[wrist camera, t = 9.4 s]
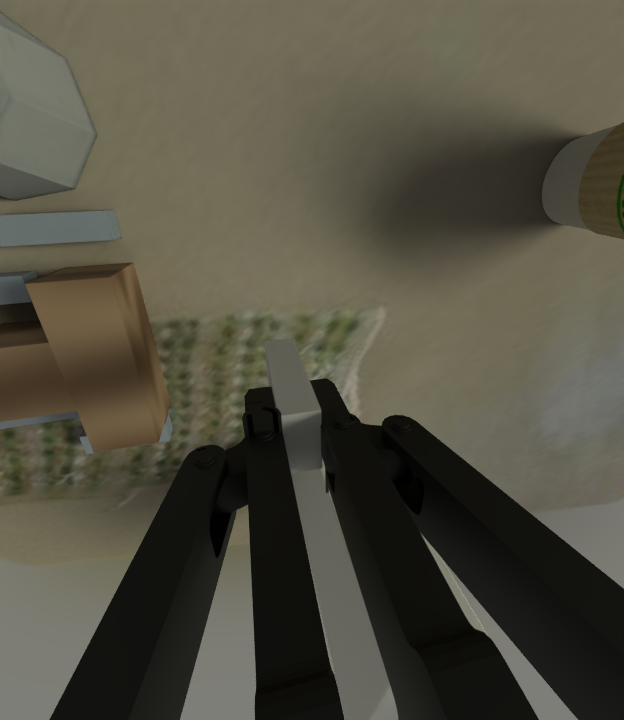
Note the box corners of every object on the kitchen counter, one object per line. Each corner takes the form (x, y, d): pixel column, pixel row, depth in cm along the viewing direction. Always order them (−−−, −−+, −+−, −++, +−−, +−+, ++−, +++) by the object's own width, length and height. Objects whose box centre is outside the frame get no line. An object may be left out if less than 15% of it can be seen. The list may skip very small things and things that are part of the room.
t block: (-81, 278, 20) (-168, 299, 16) (133, 262, 22) (109, 277, 18) (0, 427, 25) (-50, 476, 20) (170, 403, 27) (158, 442, 23)
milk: (362, 423, 32) (570, 761, 13) (345, 473, 34) (501, 826, 15) (301, 419, 30) (435, 805, 11) (287, 472, 33) (378, 872, 13)
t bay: (-189, 223, 18) (-224, 225, 17) (114, 210, 21) (105, 210, 19) (-39, 461, 25) (-55, 477, 24) (172, 428, 28) (169, 440, 26)
